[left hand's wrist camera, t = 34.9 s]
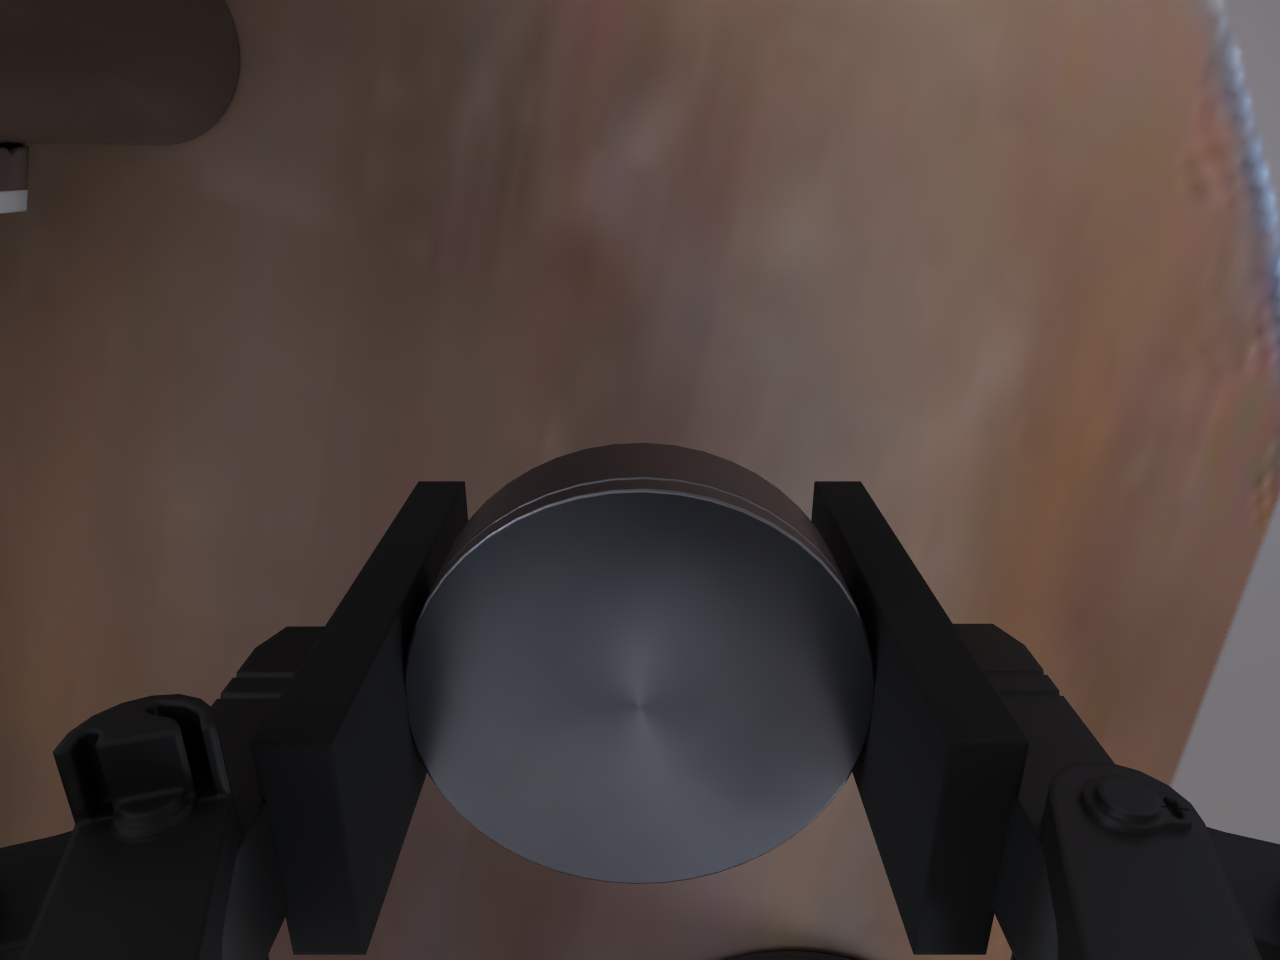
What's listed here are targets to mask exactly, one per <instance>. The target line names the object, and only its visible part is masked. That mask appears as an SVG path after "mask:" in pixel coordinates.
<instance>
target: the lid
mask: <svg viewBox="0 0 1280 960" xmlns="http://www.w3.org/2000/svg"><path fill="white" fill-rule="evenodd" d="M404 686H405V695H406V704H407V712H408V720H409V727H410V732H411V735H412V738H413V741H414V744H415V747H416V750H417V753H418V755H419V756H420V758H421V760H422V762H423V764H424V766H425V768H426V770H427V772H428V774H429V776H430V777H431V779H432V780H433V782H434V783H435V784H436V786H437V787H438V789H439V790H440V792H441V793H442V795H443V796H444V797H445V798H446V799H447V800H448V802H449V803H450V804H451V805H452V806H453V807H454V808H455V809H456V810H457V811H458V812H459V814H460V815H461V816H462V817H464V818H465V819H466V820H467V821H468V822H469V823H471V824H472V825H473V826H474V827H475V828H476V829H478V830H479V831H480V832H481V833H483V834H484V835H486V836H487V837H488V838H490V839H491V840H493V841H494V842H496V843H497V844H499V845H500V846H502V847H503V848H505V849H507V850H509V851H511V852H513V853H515V854H517V855H519V856H521V857H523V858H525V859H527V860H529V861H531V862H534V863H536V864H539V865H542V866H544V867H547V868H549V869H552V870H555V871H559V872H562V873H566V874H570V875H573V876H577V877H581V878H587V879H593V880H599V881H605V882H617V883H632V884H641V883H665V882H672V881H680V880H688V879H693V878H697V877H701V876H706V875H710V874H714V873H718V872H721V871H724V870H727V869H730V868H732V867H735V866H738V865H741V864H744V863H746V862H748V861H750V860H752V859H754V858H756V857H759V856H761V855H763V854H765V853H767V852H769V851H770V850H772V849H774V848H775V847H777V846H779V845H780V844H782V843H783V842H785V841H787V840H788V839H790V838H791V837H793V836H794V835H795V834H796V833H798V832H799V831H800V830H802V829H803V828H804V827H805V826H807V825H808V824H809V823H810V822H812V821H813V820H814V819H815V818H816V817H817V816H818V815H819V814H820V813H821V812H822V811H823V810H824V809H825V808H826V807H827V806H828V805H829V804H830V802H831V801H832V800H833V799H834V797H835V796H836V795H837V793H838V792H839V791H840V789H841V788H842V787H843V785H844V784H845V783H846V781H847V779H848V778H849V776H850V774H851V772H852V771H853V769H854V767H855V765H856V764H857V762H858V760H859V758H860V755H861V753H862V750H863V747H864V745H865V742H866V740H867V737H868V734H869V729H870V723H871V715H872V707H873V699H874V690H875V668H874V657H873V653H872V649H871V645H870V641H869V637H868V633H867V630H866V628H865V626H864V623H863V621H862V619H861V616H860V614H859V612H858V609H857V607H856V605H855V603H854V600H853V598H852V596H851V594H850V592H849V590H848V588H847V585H846V583H845V581H844V579H843V577H842V575H841V572H840V570H839V568H838V566H837V564H836V562H835V560H834V557H833V555H832V553H831V551H830V549H829V547H828V546H827V544H826V542H825V541H824V539H823V538H822V536H821V534H820V533H819V531H818V529H817V528H816V527H815V525H814V524H813V523H812V522H811V521H810V519H809V518H808V517H807V516H806V515H805V513H804V512H803V511H802V510H801V509H800V508H799V507H798V506H797V505H796V504H795V503H794V502H793V501H792V500H791V499H790V498H788V497H787V496H786V495H785V494H784V493H783V492H782V491H781V490H779V489H778V488H777V487H775V486H774V485H772V484H771V483H769V482H768V481H766V480H765V479H763V478H762V477H760V476H759V475H757V474H756V473H754V472H752V471H750V470H748V469H746V468H744V467H742V466H740V465H738V464H736V463H734V462H732V461H729V460H726V459H723V458H721V457H718V456H715V455H712V454H709V453H706V452H703V451H698V450H694V449H689V448H684V447H679V446H675V445H663V444H651V443H632V444H613V445H607V446H601V447H595V448H589V449H584V450H581V451H578V452H574V453H571V454H568V455H564V456H561V457H558V458H555V459H553V460H551V461H549V462H546V463H544V464H542V465H540V466H537V467H535V468H533V469H531V470H529V471H528V472H526V473H524V474H523V475H521V476H520V477H518V478H516V479H515V480H513V481H511V482H510V483H508V484H507V485H506V486H504V487H503V488H502V489H501V490H499V491H498V492H497V493H496V494H495V495H493V496H492V497H491V498H490V499H488V500H487V501H486V502H485V503H484V504H483V505H482V506H481V508H480V509H479V510H478V511H477V512H476V513H475V514H474V515H473V516H472V517H471V518H470V519H469V521H468V522H467V523H466V525H465V526H464V528H463V529H462V531H461V532H460V534H459V535H458V536H457V538H456V539H455V541H454V542H453V545H452V547H451V549H450V551H449V553H448V555H447V557H446V559H445V561H444V563H443V565H442V567H441V569H440V572H439V574H438V576H437V578H436V580H435V582H434V584H433V587H432V589H431V591H430V593H429V595H428V597H427V600H426V602H425V604H424V606H423V608H422V610H421V612H420V615H419V617H418V619H417V621H416V623H415V626H414V630H413V633H412V636H411V639H410V643H409V646H408V649H407V656H406V664H405V671H404Z"/></svg>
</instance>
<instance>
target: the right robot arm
mask: <svg viewBox="0 0 1280 960" xmlns="http://www.w3.org/2000/svg"><path fill="white" fill-rule="evenodd" d="M28 162H29V147H28V145H25V144H23V143H0V214H1V213H11V212H21V211H27V196H28V188H27V187H28Z"/></svg>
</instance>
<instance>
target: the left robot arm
mask: <svg viewBox="0 0 1280 960" xmlns="http://www.w3.org/2000/svg"><path fill="white" fill-rule="evenodd" d="M467 522H468V515H467V502H466V490H465V482H418V484H417V485H416V487H415V488H414V490H413V491H412V493H411V494H410V496H409V497H408V499H407V501H406V502H405V504H404V505H403V507H402V508H401V510H400V511H399V513H398V514H397V516H396V518H395V519H394V521H393V522H392V524H391V525H390V527H389V528H388V530H387V531H386V533H385V535H384V536H383V538H382V539H381V541H380V542H379V544H378V545H377V547H376V549H375V550H374V552H373V553H372V555H371V556H370V558H369V559H368V561H367V562H366V564H365V566H364V567H363V569H362V570H361V572H360V573H359V575H358V576H357V578H356V579H355V581H354V583H353V584H352V586H351V587H350V589H349V590H348V592H347V593H346V595H345V596H344V598H343V600H342V601H341V603H340V604H339V606H338V607H337V609H336V610H335V612H334V613H333V615H332V617H331V618H330V620H329V621H328V623H327V624H326V626H325V627H286V628H284V629H283V630H281V631H280V632H278V633H277V634H275V635H274V636H272V637H271V638H269V639H268V640H267V641H265V642H264V643H262V644H261V645H259V646H258V647H256V648H255V649H254V651H253V652H252V653H251V654H250V656H249V657H248V658H247V660H246V661H245V662H244V664H243V665H242V666H241V668H240V669H239V670H238V672H237V676H236V678H232V680H231V681H230V682H229V684H228V685H227V686H226V688H225V689H224V690H223V692H222V693H221V698H220V699H216V701H215V702H214V703H213V705H212V706H211V707H210V706H209V705H208V704H207V703H205V702H204V701H203V700H202V699H199V698H195V697H190V696H186V695H181V694H174V695H156V696H149V697H145V698H141V699H137V700H133V701H129V702H125V703H121V704H119V705H117V706H114V707H112V708H110V709H108V710H105V711H103V712H101V713H99V714H96V715H94V716H92V717H91V718H89V719H88V720H86V721H85V722H83V723H82V724H80V725H79V726H78V727H76V728H75V729H73V730H72V731H70V732H69V733H68V734H67V735H66V736H65V737H64V739H63V740H62V741H61V742H60V744H59V745H58V746H57V747H56V748H55V750H54V751H53V754H54V757H55V761H56V764H57V767H58V770H59V773H60V777H61V780H62V783H63V786H64V789H65V792H66V796H67V799H68V802H69V805H70V808H71V812H72V815H73V818H74V821H75V824H76V825H75V827H74V829H73V831H70V832H67V833H63V834H60V835H56V836H52V837H48V838H43V839H39V840H35V841H30V842H26V843H21V844H17V845H12V846H8V847H3V848H0V960H269V956H268V954H269V951H270V949H271V947H272V945H273V943H274V940H275V938H276V936H277V934H278V932H279V929H280V927H281V925H282V923H283V921H284V918H285V916H286V920H287V925H288V930H289V935H290V939H291V944H292V949H293V954H294V955H366V952H367V949H368V946H369V943H370V940H371V937H372V934H373V931H374V928H375V925H376V923H377V920H378V917H379V914H380V911H381V908H382V905H383V902H384V899H385V896H386V893H387V890H388V887H389V884H390V881H391V878H392V875H393V872H394V869H395V866H396V863H397V860H398V857H399V854H400V851H401V848H402V845H403V842H404V839H405V836H406V833H407V830H408V827H409V824H410V821H411V818H412V815H413V812H414V809H415V806H416V803H417V801H418V798H419V795H420V792H421V789H422V786H423V783H424V780H425V777H426V774H427V770H426V768H425V766H424V764H423V762H422V760H421V758H420V756H419V755H418V753H417V750H416V747H415V744H414V741H413V738H412V735H411V732H410V727H409V720H408V712H407V704H406V695H405V686H404V671H405V664H406V656H407V649H408V646H409V643H410V639H411V636H412V633H413V630H414V626H415V623H416V621H417V619H418V617H419V615H420V612H421V610H422V608H423V606H424V604H425V602H426V600H427V597H428V595H429V593H430V591H431V589H432V587H433V584H434V582H435V580H436V578H437V576H438V574H439V572H440V569H441V567H442V565H443V563H444V561H445V559H446V557H447V555H448V553H449V551H450V549H451V547H452V545H453V542H454V541H455V539H456V538H457V536H458V535H459V534H460V532H461V531H462V529H463V528H464V526H465V525H466V523H467ZM811 522H812V523H813V524H814V525H815V527H816V528H817V529H818V531H819V533H820V534H821V536H822V538H823V539H824V541H825V542H826V544H827V546H828V547H829V549H830V551H831V553H832V555H833V557H834V560H835V562H836V564H837V566H838V568H839V570H840V572H841V575H842V577H843V579H844V581H845V583H846V585H847V588H848V590H849V592H850V594H851V596H852V598H853V600H854V603H855V605H856V607H857V609H858V612H859V614H860V616H861V619H862V621H863V623H864V626H865V628H866V630H867V633H868V637H869V641H870V645H871V649H872V653H873V657H874V668H875V690H874V699H873V707H872V715H871V723H870V729H869V734H868V737H867V740H866V742H865V745H864V747H863V750H862V753H861V755H860V758H859V760H858V762H857V764H856V765H855V767H854V769H853V771H852V772H853V775H854V778H855V781H856V784H857V787H858V790H859V793H860V796H861V799H862V802H863V805H864V808H865V811H866V814H867V817H868V820H869V823H870V826H871V829H872V832H873V835H874V838H875V841H876V844H877V847H878V850H879V853H880V856H881V859H882V862H883V865H884V868H885V871H886V873H887V876H888V879H889V882H890V885H891V888H892V891H893V894H894V897H895V900H896V903H897V906H898V909H899V912H900V915H901V918H902V921H903V924H904V927H905V930H906V933H907V936H908V939H909V942H910V945H911V948H912V951H913V954H914V955H986V951H987V946H988V942H989V937H990V932H991V927H992V922H993V917H994V913H995V915H996V918H997V920H998V922H999V924H1000V926H1001V928H1002V931H1003V933H1004V935H1005V937H1006V939H1007V942H1008V944H1009V946H1010V948H1011V950H1012V956H1011V960H1280V844H1275V843H1271V842H1266V841H1262V840H1257V839H1253V838H1248V837H1244V836H1239V835H1235V834H1230V833H1226V832H1222V831H1219V830H1215V829H1212V828H1209V827H1206V825H1205V823H1204V822H1203V820H1202V819H1201V818H1200V816H1199V815H1198V813H1197V812H1196V810H1195V809H1194V807H1193V806H1192V805H1191V803H1190V802H1188V801H1187V800H1186V799H1185V798H1183V797H1182V796H1181V795H1180V794H1178V793H1177V792H1176V791H1175V790H1173V789H1172V788H1171V787H1169V786H1168V785H1166V784H1164V783H1162V782H1160V781H1158V780H1156V779H1154V778H1152V777H1151V776H1149V775H1147V774H1145V773H1143V772H1141V771H1137V770H1134V769H1130V768H1127V767H1123V766H1120V765H1116V764H1115V763H1114V762H1113V761H1112V759H1111V758H1110V757H1109V755H1108V754H1107V753H1106V752H1105V750H1104V749H1103V748H1102V746H1101V745H1100V744H1099V742H1098V741H1097V740H1096V738H1095V737H1094V736H1093V734H1092V733H1091V732H1090V731H1089V729H1088V728H1087V727H1086V725H1085V724H1084V723H1083V721H1082V720H1081V719H1080V717H1079V716H1078V715H1077V713H1076V712H1075V711H1074V709H1073V708H1072V707H1071V706H1070V704H1069V703H1068V702H1067V700H1066V699H1065V698H1064V696H1060V695H1059V690H1058V688H1057V687H1056V686H1055V685H1054V683H1053V682H1052V681H1051V679H1050V678H1049V677H1048V675H1044V673H1043V669H1042V667H1041V666H1040V665H1039V664H1038V662H1037V661H1036V660H1035V658H1034V657H1033V656H1032V654H1031V653H1030V652H1029V650H1028V649H1027V648H1026V646H1025V645H1024V644H1022V643H1021V642H1019V641H1018V640H1016V639H1015V638H1013V637H1012V636H1010V635H1009V634H1007V633H1006V632H1004V631H1003V630H1001V629H1000V628H998V627H997V626H995V625H994V624H952V622H951V621H950V619H949V617H948V616H947V614H946V613H945V611H944V610H943V608H942V607H941V605H940V604H939V602H938V600H937V599H936V597H935V596H934V594H933V593H932V591H931V590H930V588H929V587H928V585H927V583H926V582H925V580H924V579H923V577H922V576H921V574H920V573H919V571H918V569H917V568H916V566H915V565H914V563H913V562H912V560H911V559H910V557H909V556H908V554H907V552H906V551H905V549H904V548H903V546H902V545H901V543H900V542H899V540H898V539H897V537H896V535H895V534H894V532H893V531H892V529H891V528H890V526H889V525H888V523H887V522H886V520H885V518H884V517H883V515H882V514H881V512H880V511H879V509H878V508H877V506H876V505H875V503H874V501H873V500H872V498H871V497H870V495H869V494H868V492H867V491H866V489H865V487H864V486H863V484H862V483H861V482H815V484H814V496H813V508H812V520H811ZM726 960H851V959H848V958H844V957H840V956H835V955H830V954H824V953H815V952H804V951H773V952H764V953H755V954H749V955H743V956H738V957H734V958H730V959H726Z"/></svg>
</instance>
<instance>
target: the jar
mask: <svg viewBox="0 0 1280 960" xmlns="http://www.w3.org/2000/svg"><path fill="white" fill-rule="evenodd" d="M239 65H240V60H239V45H238V39H237V34H236V30H235V26H234V22H233V20H232V17H231V15H230V12H229V9H228V7H227V5H226V3H225V1H224V0H0V143H40V144H126V145H170V144H178V143H182V142H185V141H189V140H191V139H193V138H195V137H198V136H200V135H201V134H203V133H204V132H206V131H207V130H209V129H210V128H211V127H212V126H213V125H214V124H215V123H216V122H217V121H218V120H219V119H220V118H221V116H222V115H223V114H224V113H225V111H226V109H227V108H228V106H229V104H230V102H231V100H232V97H233V95H234V92H235V89H236V85H237V81H238V75H239Z"/></svg>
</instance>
